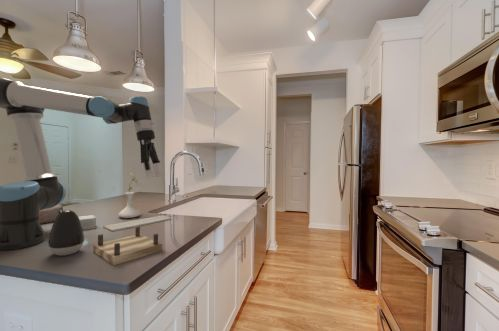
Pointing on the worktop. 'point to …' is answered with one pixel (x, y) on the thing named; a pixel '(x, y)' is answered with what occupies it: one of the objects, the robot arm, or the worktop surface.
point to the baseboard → (136, 223)
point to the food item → (49, 214)
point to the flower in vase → (130, 204)
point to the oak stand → (127, 247)
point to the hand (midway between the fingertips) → (154, 177)
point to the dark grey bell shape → (66, 234)
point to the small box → (88, 222)
